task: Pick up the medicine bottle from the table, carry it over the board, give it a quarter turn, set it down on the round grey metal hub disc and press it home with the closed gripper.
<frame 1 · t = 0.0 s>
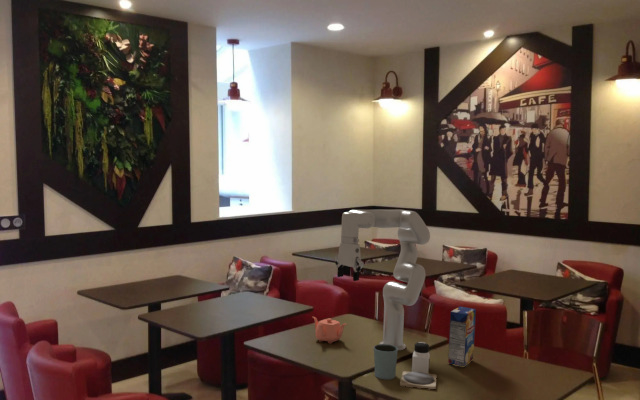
hand: (348, 278, 259), 37 cm above the table, tool pointing down, fingers open, 9 cm apart
teapot: (327, 341, 289), on the table
juice carton: (460, 363, 265), on the table
medicine bottle: (420, 371, 253), on the table
blue-grey cup: (384, 376, 246), on the table
board: (418, 381, 241), on the table
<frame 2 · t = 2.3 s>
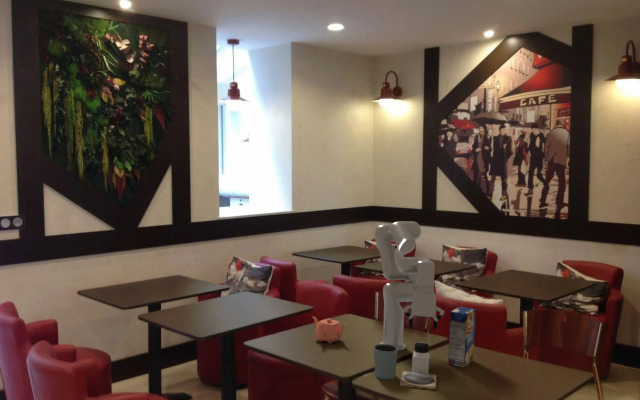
hand: (422, 328, 251), 19 cm above the table, tool pointing down, fingers open, 9 cm apart
nothing on the table moved.
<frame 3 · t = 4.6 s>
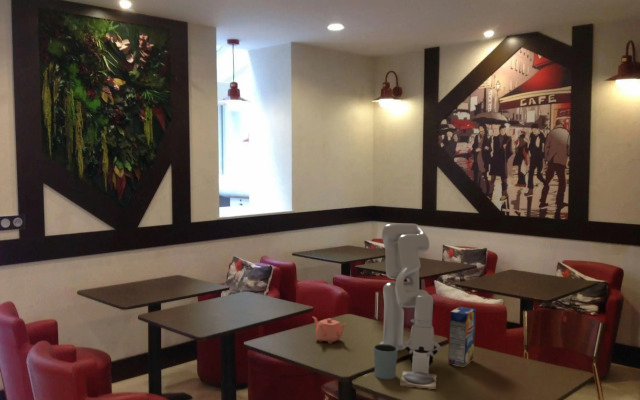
hand: (420, 362, 253), 3 cm above the table, tool pointing down, fingers closed on medicine bottle, 7 cm apart
medicine bottle: (420, 371, 253), on the table, touching gripper
everything else where it was.
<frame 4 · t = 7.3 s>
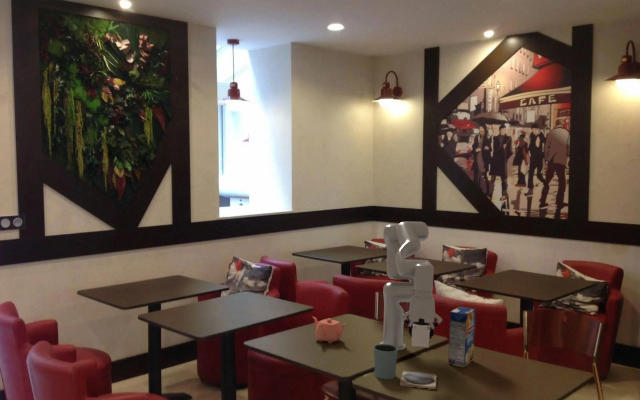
hand: (420, 336, 239), 19 cm above the table, tool pointing down, fingers closed on medicine bottle, 7 cm apart
medicine bottle: (420, 344, 239), point 15 cm above the table, touching gripper
everything else where it was.
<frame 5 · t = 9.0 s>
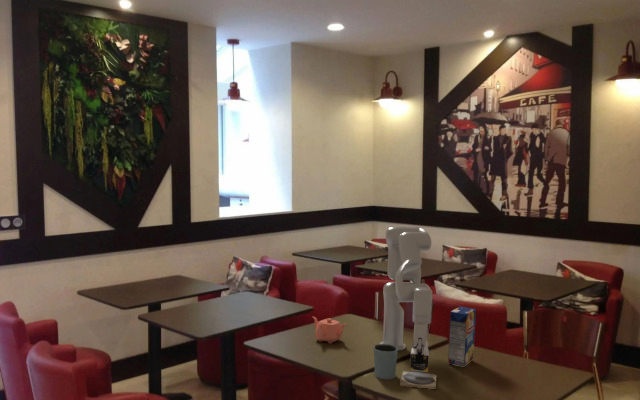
hand: (419, 360, 240), 9 cm above the table, tool pointing down, fingers closed on medicine bottle, 7 cm apart
medicine bottle: (419, 368, 240), point 5 cm above the table, touching gripper
everything else where it was.
when the fingers open (6 cm above the table, at t = 10.4 s): medicine bottle stays where it is, resting on board.
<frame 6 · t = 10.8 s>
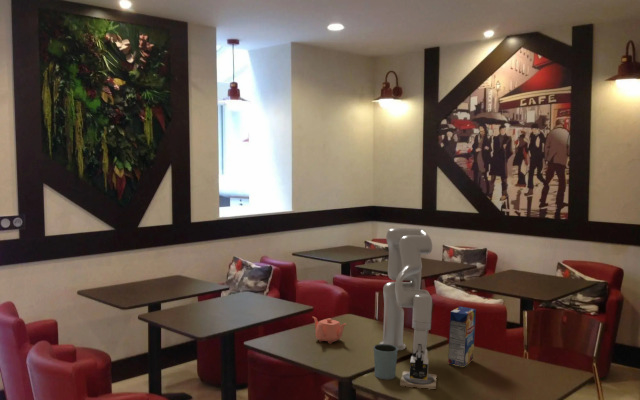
hand: (419, 365, 240), 7 cm above the table, tool pointing down, fingers open, 9 cm apart
medicine bottle: (418, 377, 241), point 2 cm above the table, touching board
everything else where it was.
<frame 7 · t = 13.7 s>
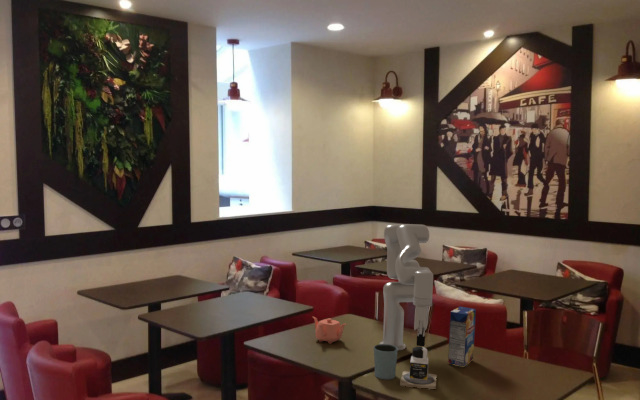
hand: (420, 345, 239), 15 cm above the table, tool pointing down, fingers closed
nothing on the table moved.
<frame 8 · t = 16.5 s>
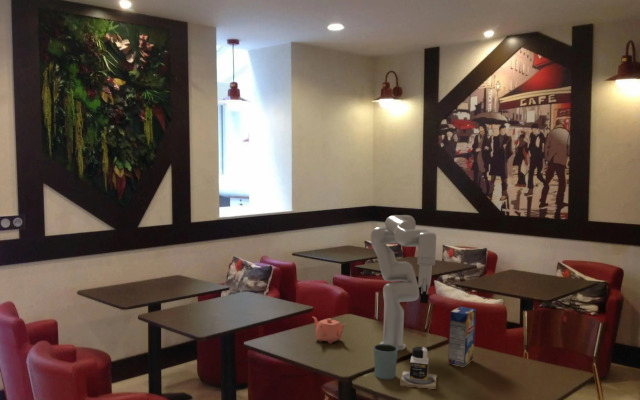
hand: (424, 302, 254), 29 cm above the table, tool pointing down, fingers closed
nothing on the table moved.
at the end: medicine bottle 0.3 cm off-centre on the board, point 1.8 cm above the board's base; medicine bottle tilted 0°; the gripper is holding nothing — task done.
